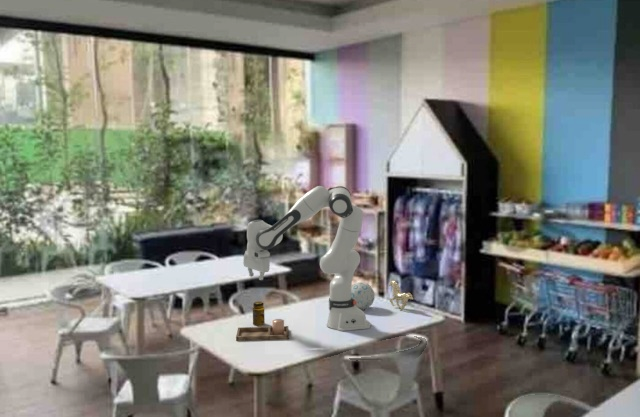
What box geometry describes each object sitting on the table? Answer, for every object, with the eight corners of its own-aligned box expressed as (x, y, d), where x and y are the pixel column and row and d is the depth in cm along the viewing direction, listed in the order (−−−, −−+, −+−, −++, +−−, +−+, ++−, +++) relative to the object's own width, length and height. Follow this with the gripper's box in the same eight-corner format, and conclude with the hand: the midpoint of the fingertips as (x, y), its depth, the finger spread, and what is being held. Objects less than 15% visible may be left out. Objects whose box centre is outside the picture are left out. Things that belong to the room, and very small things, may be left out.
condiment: (267, 325, 297) (267, 303, 295) (252, 328, 292) (252, 305, 291) (261, 322, 303) (260, 300, 301) (246, 325, 298) (246, 302, 297)
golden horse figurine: (415, 312, 318) (415, 282, 316) (410, 314, 315) (410, 283, 313) (391, 304, 334) (391, 275, 332) (386, 305, 332) (386, 276, 330)
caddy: (288, 330, 288) (288, 326, 288) (288, 340, 274) (288, 335, 274) (238, 332, 286) (238, 327, 286) (236, 341, 272) (236, 336, 272)
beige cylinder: (284, 332, 284) (283, 318, 283) (284, 336, 278) (284, 322, 277) (272, 332, 283) (272, 319, 283) (272, 336, 278) (272, 322, 277)
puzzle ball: (346, 305, 333) (346, 280, 331) (371, 304, 335) (371, 279, 333) (350, 313, 318) (350, 286, 316) (377, 312, 320) (377, 285, 318)
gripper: (240, 249, 299) (240, 275, 301) (260, 255, 283) (261, 282, 285) (250, 247, 303) (251, 273, 305) (271, 253, 287) (272, 280, 289)
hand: (256, 277), depth 295 cm, fingers open, 8 cm apart
